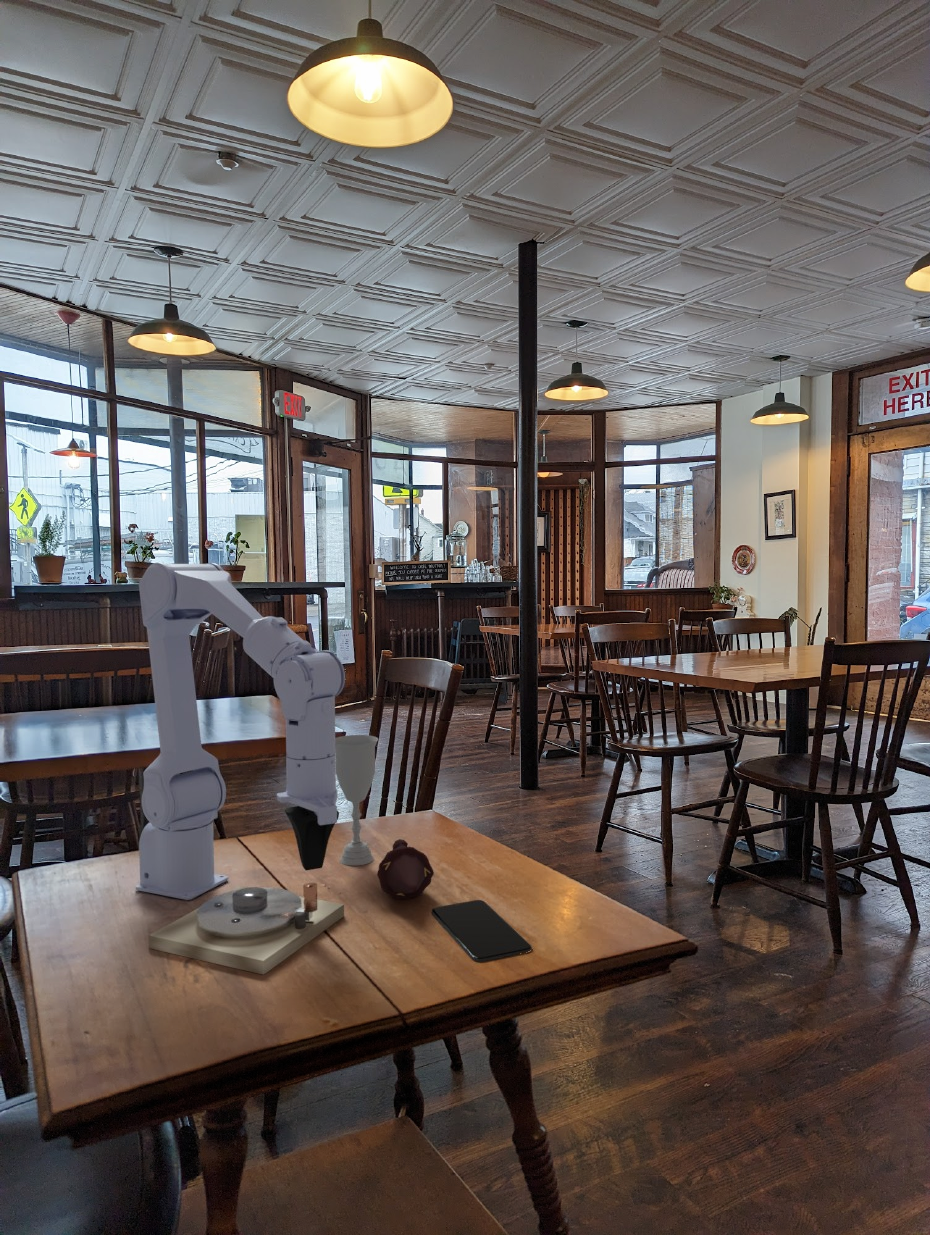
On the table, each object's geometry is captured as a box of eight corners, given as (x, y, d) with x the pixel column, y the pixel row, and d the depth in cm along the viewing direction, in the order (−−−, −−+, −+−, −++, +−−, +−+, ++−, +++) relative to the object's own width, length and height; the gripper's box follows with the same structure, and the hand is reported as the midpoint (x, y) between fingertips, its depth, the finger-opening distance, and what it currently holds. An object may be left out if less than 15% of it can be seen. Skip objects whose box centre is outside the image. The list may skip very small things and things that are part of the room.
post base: (148, 948, 93) (148, 922, 93) (240, 896, 107) (239, 874, 107) (263, 974, 86) (263, 947, 86) (344, 916, 101) (343, 892, 101)
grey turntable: (178, 934, 92) (177, 899, 91) (224, 892, 104) (224, 862, 103) (299, 941, 90) (298, 906, 89) (333, 898, 101) (332, 867, 101)
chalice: (376, 868, 117) (374, 744, 116) (329, 868, 117) (327, 745, 116) (382, 851, 125) (380, 734, 124) (338, 851, 125) (336, 735, 124)
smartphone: (535, 955, 91) (482, 904, 105) (535, 947, 91) (482, 897, 105) (475, 967, 89) (428, 914, 102) (475, 960, 88) (428, 907, 102)
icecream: (449, 865, 101) (426, 838, 115) (391, 855, 99) (376, 829, 114) (437, 921, 100) (415, 887, 115) (378, 912, 98) (364, 878, 113)
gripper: (264, 745, 101) (266, 853, 102) (291, 771, 88) (293, 895, 89) (319, 740, 104) (321, 845, 105) (354, 765, 91) (355, 884, 92)
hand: (312, 867), depth 97 cm, fingers closed
